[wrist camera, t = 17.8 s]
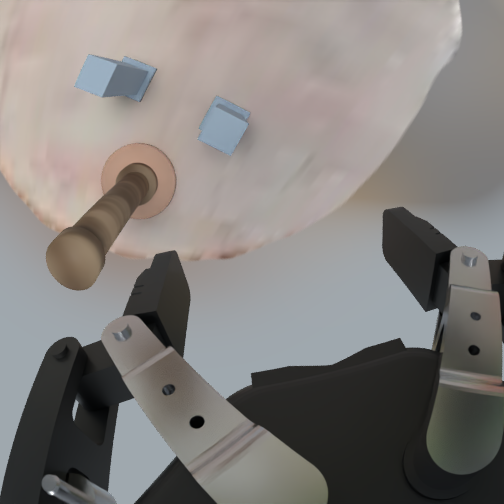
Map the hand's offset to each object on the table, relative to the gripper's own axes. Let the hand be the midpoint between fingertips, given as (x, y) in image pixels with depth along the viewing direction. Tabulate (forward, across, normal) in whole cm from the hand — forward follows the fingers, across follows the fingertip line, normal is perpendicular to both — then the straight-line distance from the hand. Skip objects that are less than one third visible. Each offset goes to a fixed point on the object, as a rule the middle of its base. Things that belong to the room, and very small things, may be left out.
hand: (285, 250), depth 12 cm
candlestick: (+31, +16, +3) cm, 35 cm away
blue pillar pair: (+32, +7, -7) cm, 34 cm away
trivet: (+32, +16, +3) cm, 36 cm away
